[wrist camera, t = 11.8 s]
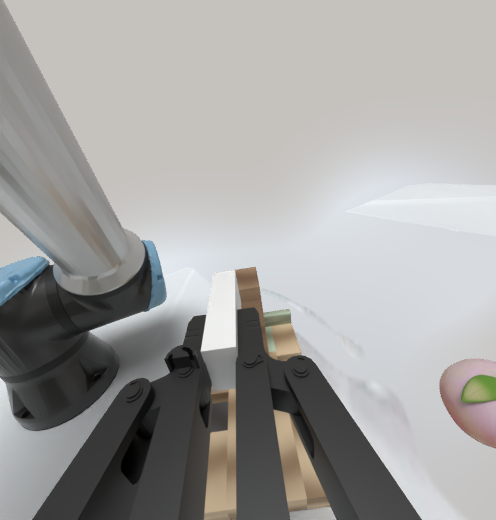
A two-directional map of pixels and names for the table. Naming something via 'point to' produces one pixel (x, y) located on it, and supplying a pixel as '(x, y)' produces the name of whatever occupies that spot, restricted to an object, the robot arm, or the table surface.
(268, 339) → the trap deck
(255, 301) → the walnut block
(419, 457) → the table surface
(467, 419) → the decorative fruit
